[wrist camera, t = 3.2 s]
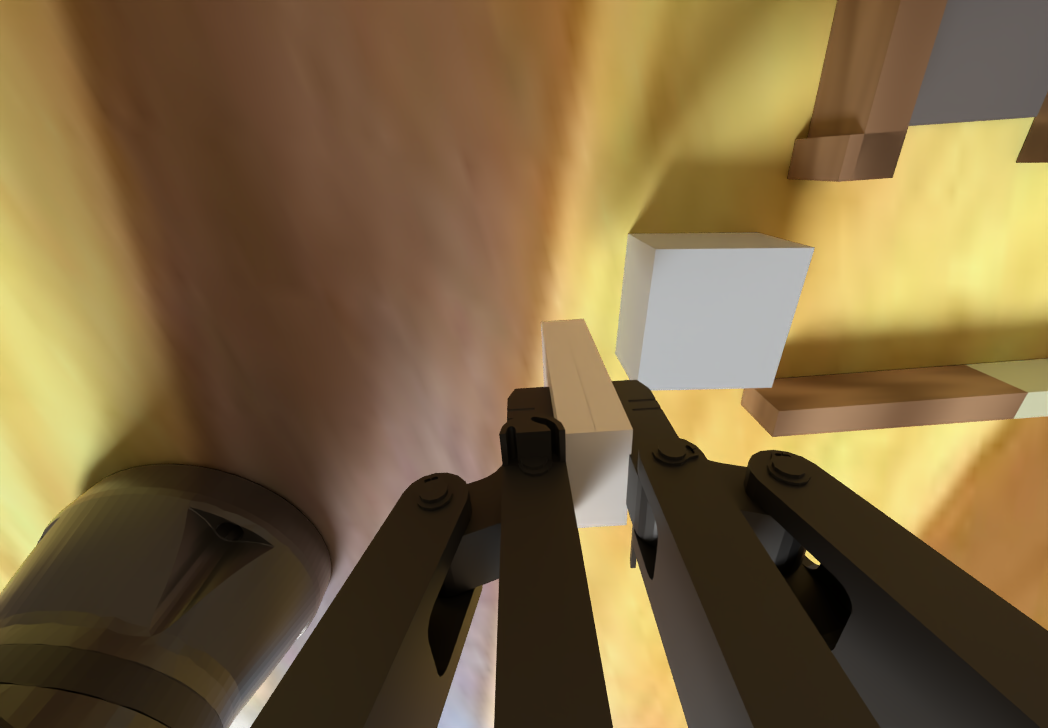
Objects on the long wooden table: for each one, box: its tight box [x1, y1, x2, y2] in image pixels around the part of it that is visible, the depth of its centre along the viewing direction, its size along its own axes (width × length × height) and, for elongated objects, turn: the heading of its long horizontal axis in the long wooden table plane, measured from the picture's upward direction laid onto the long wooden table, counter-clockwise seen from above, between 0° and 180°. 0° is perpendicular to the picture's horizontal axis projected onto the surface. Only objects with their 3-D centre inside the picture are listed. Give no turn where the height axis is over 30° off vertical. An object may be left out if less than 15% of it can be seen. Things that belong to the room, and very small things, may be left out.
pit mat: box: [909, 0, 1048, 126], centre depth 16 cm, size 7×5×1 cm, turn 93°
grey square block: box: [615, 232, 814, 390], centre depth 18 cm, size 6×6×4 cm
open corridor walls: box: [741, 0, 1048, 437], centre depth 17 cm, size 12×20×3 cm, turn 3°
